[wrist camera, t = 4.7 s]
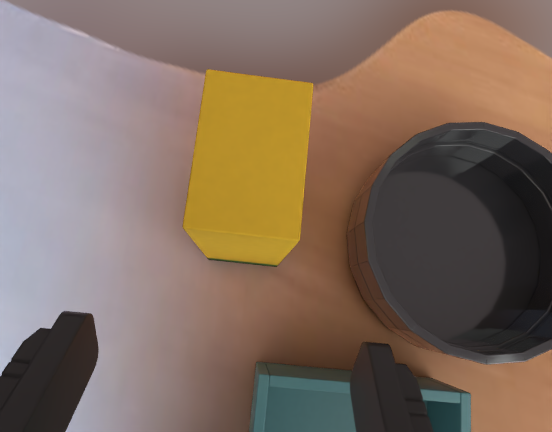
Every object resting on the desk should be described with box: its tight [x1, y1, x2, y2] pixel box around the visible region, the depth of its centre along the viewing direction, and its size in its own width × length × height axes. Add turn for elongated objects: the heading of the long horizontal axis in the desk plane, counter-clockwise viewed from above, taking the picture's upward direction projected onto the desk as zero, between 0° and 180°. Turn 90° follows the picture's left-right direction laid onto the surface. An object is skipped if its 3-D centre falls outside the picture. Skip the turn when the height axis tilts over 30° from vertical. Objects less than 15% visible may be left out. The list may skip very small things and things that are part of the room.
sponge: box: [183, 69, 313, 267], centre depth 19 cm, size 4×6×10 cm, turn 174°
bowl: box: [347, 122, 552, 365], centre depth 23 cm, size 12×12×4 cm
